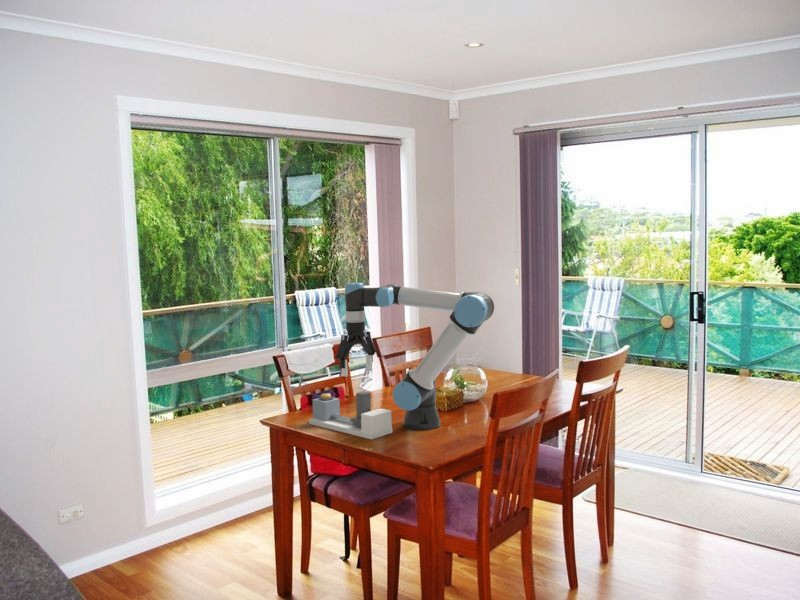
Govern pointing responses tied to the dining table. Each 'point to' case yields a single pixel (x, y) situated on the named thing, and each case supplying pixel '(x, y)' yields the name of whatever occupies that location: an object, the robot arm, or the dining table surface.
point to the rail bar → (341, 419)
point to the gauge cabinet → (325, 409)
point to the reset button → (325, 397)
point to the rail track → (347, 428)
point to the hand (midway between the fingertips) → (357, 373)
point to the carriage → (361, 407)
